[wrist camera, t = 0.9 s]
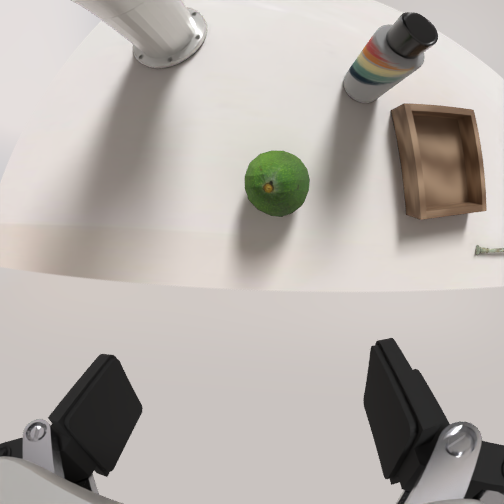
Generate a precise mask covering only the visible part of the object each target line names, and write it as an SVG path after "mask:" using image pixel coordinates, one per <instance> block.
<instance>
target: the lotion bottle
mask: <svg viewBox="0 0 504 504" xmlns="http://www.w3.org/2000/svg"><path fill="white" fill-rule="evenodd" d="M437 39H438V33H437V30H436V28H435V27H434V25H433V24H432V23H431V22H430V21H429V20H427V19H426V18H425V17H423V16H422V15H420V14H418V13H403V14H402V15H401V16H400V17H399V18H398V20H397V21H396V22H395V23H394V25H384V26H381V27H380V28H379V29H378V30H377V31H376V32H375V33H374V35H373V36H372V37H371V39H370V40H369V42H368V43H367V45H366V46H365V47H364V49H363V50H362V52H361V53H360V55H359V56H358V57H357V59H356V60H355V62H354V63H353V65H352V66H351V67H350V69H349V70H348V72H347V73H346V75H345V77H344V88H345V90H346V92H347V93H348V95H349V96H350V97H351V98H353V99H354V100H356V101H358V102H361V103H369V102H372V101H374V100H376V99H377V98H379V97H380V96H381V95H383V94H384V93H385V92H387V91H388V90H389V89H391V88H392V87H393V86H395V85H396V84H398V83H399V82H400V81H402V80H403V79H405V78H406V77H407V76H409V75H410V74H412V73H413V72H414V71H416V70H417V69H418V68H419V67H421V65H422V64H423V62H424V52H425V51H426V50H428V49H429V48H430V47H432V46H433V45H434V44H435V43H436V42H437Z"/></svg>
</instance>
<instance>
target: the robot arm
mask: <svg viewBox="0 0 504 504" xmlns="http://www.w3.org/2000/svg"><path fill="white" fill-rule="evenodd" d="M71 1H73V2H75V3H77V4H79V5H81V6H82V7H84V8H85V9H87V10H88V11H90V12H91V13H93V14H94V15H96V16H97V17H98V18H100V19H101V20H102V21H104V22H105V23H106V24H108V25H109V26H110V27H112V28H113V29H114V30H116V31H117V32H118V33H120V34H121V35H122V36H124V37H125V38H126V39H127V40H129V41H130V42H131V43H132V44H133V53H134V55H135V58H136V59H137V60H138V61H139V62H140V63H142V64H143V65H145V66H147V67H151V68H165V67H169V66H173V65H176V64H178V63H180V62H182V61H184V60H185V59H187V58H189V57H190V56H191V55H192V54H194V53H195V52H196V50H197V49H198V48H199V47H200V46H201V44H202V43H203V41H204V39H205V37H206V33H207V24H206V21H205V19H204V17H203V16H202V15H201V14H200V13H199V12H198V11H196V10H195V9H192V8H188V7H186V6H185V5H184V3H183V1H182V0H71ZM364 407H365V411H366V414H367V417H368V421H369V424H370V427H371V431H372V434H373V437H374V441H375V445H376V448H377V451H378V455H379V459H380V463H381V467H382V471H383V475H384V477H385V479H389V478H390V482H391V484H395V483H398V482H400V484H401V487H402V489H404V491H403V493H402V495H401V496H400V498H399V499H398V501H397V503H396V504H504V445H499V444H494V443H489V442H485V441H482V437H481V433H480V431H479V430H478V428H477V427H476V426H474V425H473V424H471V423H468V422H456V423H452V424H449V422H448V420H447V418H446V416H445V415H444V413H443V411H442V409H441V407H440V406H439V404H438V402H437V400H436V399H435V397H434V395H433V393H432V392H431V390H430V388H429V386H428V385H427V383H426V381H425V380H424V378H423V376H422V375H421V373H420V372H419V370H417V369H414V370H412V368H411V367H410V365H409V363H408V361H407V360H406V358H405V357H404V355H403V353H402V351H401V350H400V348H399V347H398V345H397V343H396V342H395V340H394V339H393V338H389V339H384V340H379V341H377V342H376V345H375V346H372V347H371V351H370V360H369V367H368V374H367V382H366V388H365V393H364ZM141 413H142V405H141V403H140V401H139V399H138V397H137V396H136V394H135V392H134V390H133V388H132V386H131V384H130V382H129V380H128V378H127V376H126V374H125V372H124V370H123V368H122V365H121V363H120V361H119V360H118V359H117V358H116V357H115V356H114V355H107V354H101V355H99V356H98V357H97V359H96V360H95V361H94V362H93V363H92V364H91V366H90V367H89V368H88V369H87V370H86V372H85V373H84V374H83V375H82V376H81V378H80V379H79V380H78V381H77V382H76V384H75V385H74V386H73V387H72V388H71V390H70V391H69V392H68V393H67V395H66V396H65V397H64V398H63V400H62V401H61V402H60V403H59V405H58V406H57V407H56V408H55V410H54V411H53V412H52V413H51V415H50V416H49V417H48V418H49V420H50V421H51V422H52V425H51V426H50V424H49V423H48V422H47V421H45V420H43V419H36V420H34V421H32V422H30V423H29V424H28V425H27V426H26V427H25V429H24V432H23V438H19V439H16V440H12V441H8V442H5V443H2V444H0V504H122V503H119V502H117V501H114V500H111V499H109V498H106V497H103V496H101V495H99V493H98V490H97V487H96V484H95V480H94V477H93V474H92V473H93V471H94V470H95V471H96V473H98V474H101V475H104V476H106V477H107V476H108V474H109V472H110V471H112V470H113V469H114V467H115V465H116V463H117V461H118V459H119V457H120V455H121V453H122V451H123V449H124V447H125V445H126V443H127V441H128V439H129V437H130V435H131V433H132V431H133V429H134V427H135V425H136V423H137V421H138V419H139V417H140V415H141Z"/></svg>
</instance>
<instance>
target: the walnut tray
mask: <svg viewBox="0 0 504 504" xmlns="http://www.w3.org/2000/svg"><path fill="white" fill-rule="evenodd" d="M391 114H392V118H393V123H394V128H395V133H396V138H397V143H398V149H399V155H400V162H401V169H402V176H403V185H404V194H405V205H406V215H409V216H412V217H415V218H418V219H421V220H422V219H429V218H437V217H444V216H451V215H459V214H466V213H473V212H481V211H486V190H485V177H484V167H483V158H482V151H481V145H480V139H479V133H478V128H477V123H476V118H475V114H474V110H471V109H464V108H456V107H447V106H437V105H424V104H402V105H400V106H398V107H397V108H395V109H393V110H391Z"/></svg>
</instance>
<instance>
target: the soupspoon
mask: <svg viewBox="0 0 504 504" xmlns="http://www.w3.org/2000/svg"><path fill="white" fill-rule="evenodd" d="M485 252H486V253H488V252H504V248H499V249H488V248H487V249H486V248H481V247H479V246H478V245H477V247H476V255H478V254H479V253H485Z"/></svg>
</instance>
